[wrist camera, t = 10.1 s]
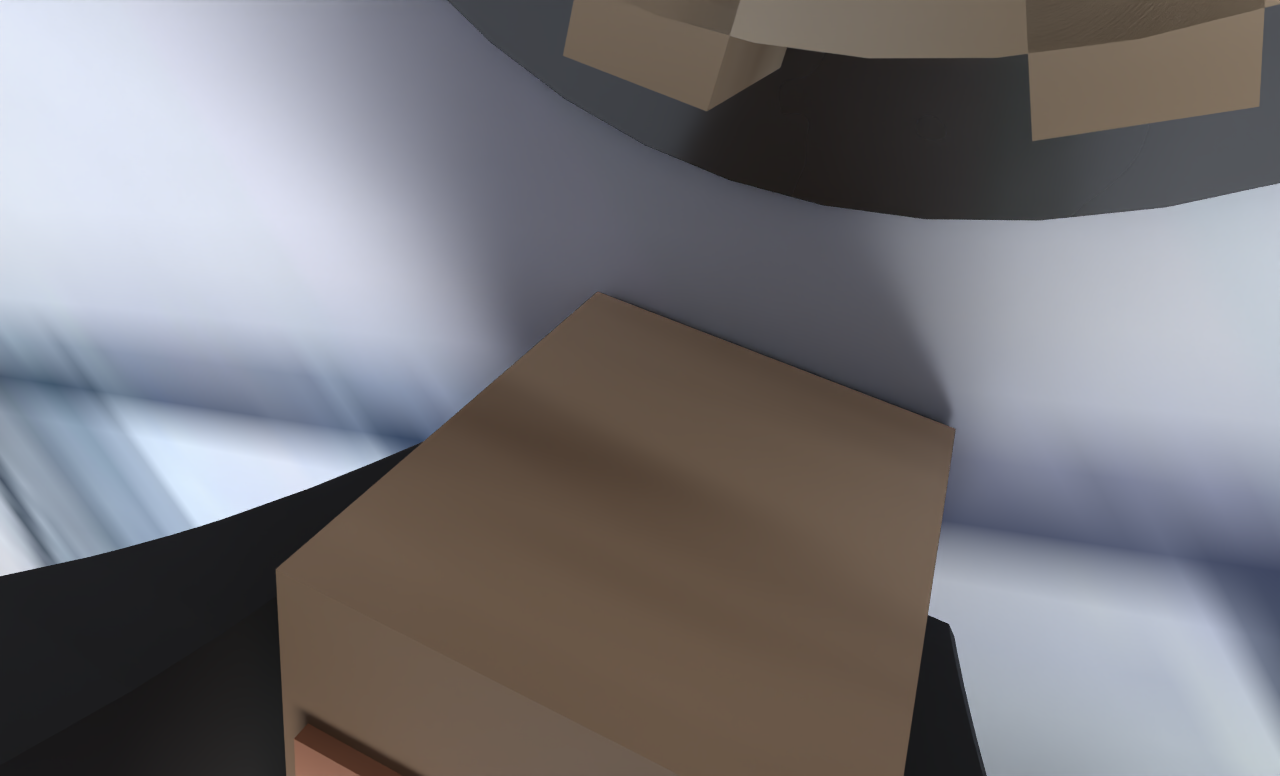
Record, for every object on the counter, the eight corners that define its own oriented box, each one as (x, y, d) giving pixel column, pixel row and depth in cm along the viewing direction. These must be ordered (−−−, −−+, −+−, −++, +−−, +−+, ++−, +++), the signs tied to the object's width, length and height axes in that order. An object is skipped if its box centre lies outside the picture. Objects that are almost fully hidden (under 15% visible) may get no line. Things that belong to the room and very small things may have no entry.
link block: (827, 679, 12) (699, 1153, 7) (546, 549, 13) (280, 896, 8) (955, 428, 9) (882, 907, 5) (598, 291, 10) (259, 583, 6)
